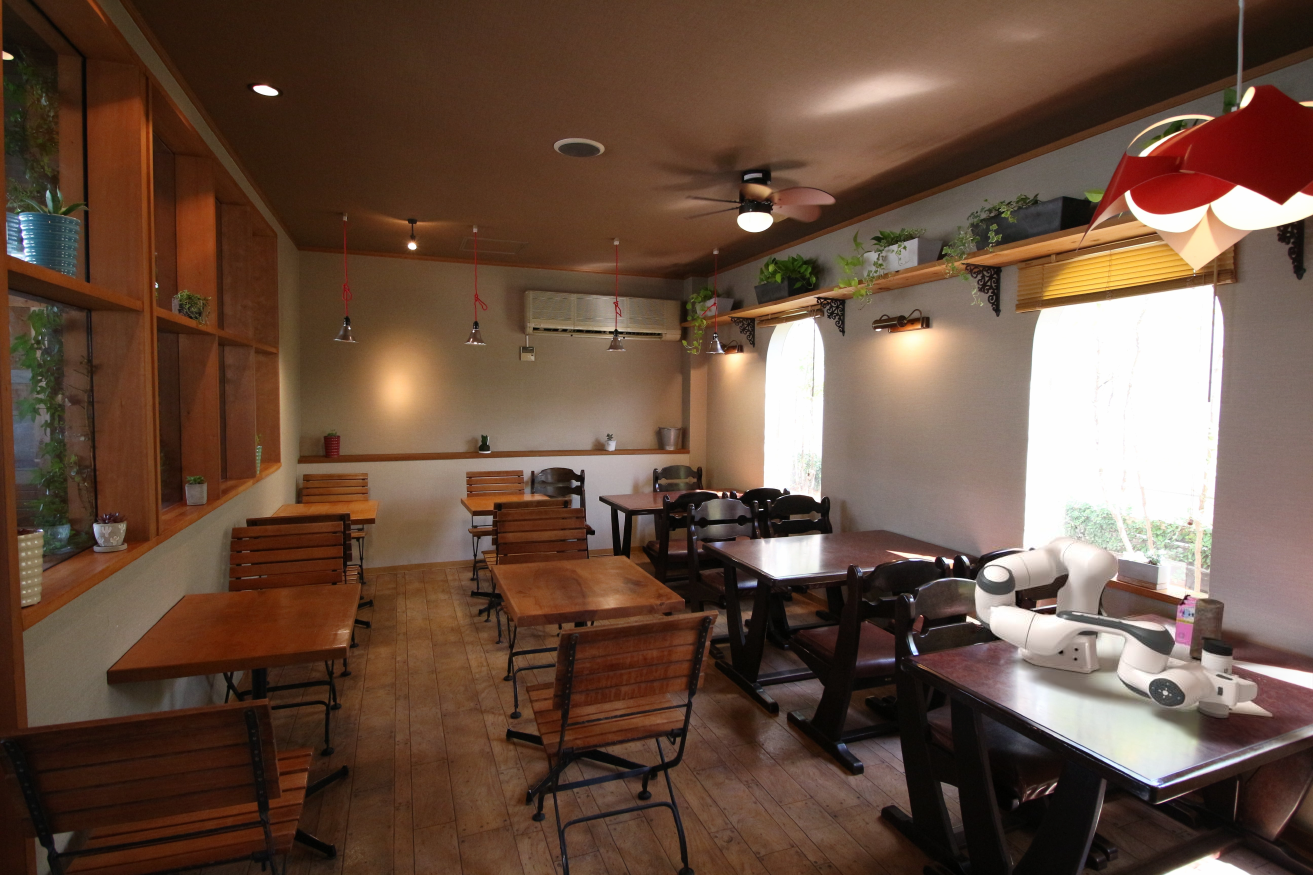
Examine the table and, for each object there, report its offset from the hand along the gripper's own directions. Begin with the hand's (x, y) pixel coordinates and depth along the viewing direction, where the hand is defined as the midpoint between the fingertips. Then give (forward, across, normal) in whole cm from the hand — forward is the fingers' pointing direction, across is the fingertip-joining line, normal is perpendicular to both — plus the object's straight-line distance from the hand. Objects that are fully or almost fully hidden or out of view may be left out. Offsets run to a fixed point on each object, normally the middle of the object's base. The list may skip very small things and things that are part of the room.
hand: (1217, 672), depth 178 cm
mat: (+13, -1, -11) cm, 17 cm away
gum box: (+69, -31, -12) cm, 77 cm away
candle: (+46, -19, -11) cm, 51 cm away
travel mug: (-1, 0, -11) cm, 11 cm away
